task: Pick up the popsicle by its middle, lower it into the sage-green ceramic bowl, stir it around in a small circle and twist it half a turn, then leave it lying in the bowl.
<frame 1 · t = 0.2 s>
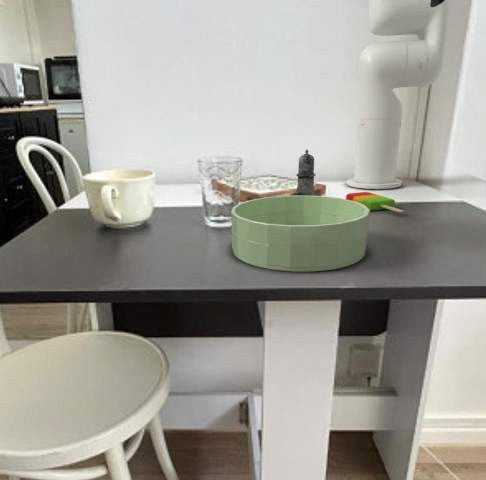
hand: (476, 2, 56), 31 cm above the table, tool pointing down, fingers open, 9 cm apart
popsicle: (376, 209, 86), on the table
bowl: (297, 248, 64), on the table
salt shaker: (304, 214, 84), on the table
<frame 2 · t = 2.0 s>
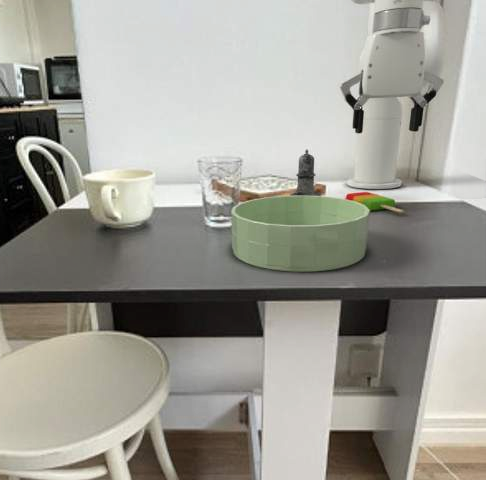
hand: (385, 132, 80), 14 cm above the table, tool pointing down, fingers open, 9 cm apart
nothing on the table moved.
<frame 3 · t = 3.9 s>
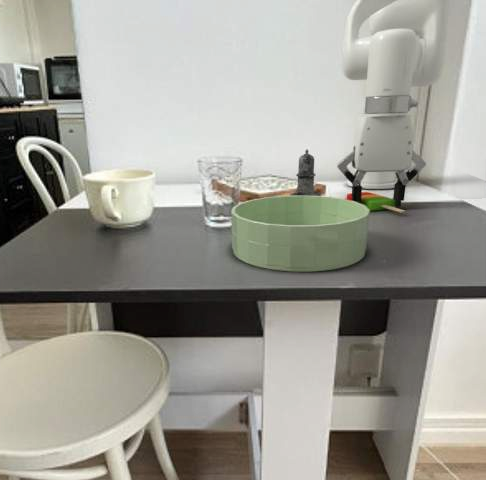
hand: (376, 204, 85), 1 cm above the table, tool pointing down, fingers closed on popsicle, 6 cm apart
popsicle: (377, 209, 86), on the table, touching gripper
everything else where it was.
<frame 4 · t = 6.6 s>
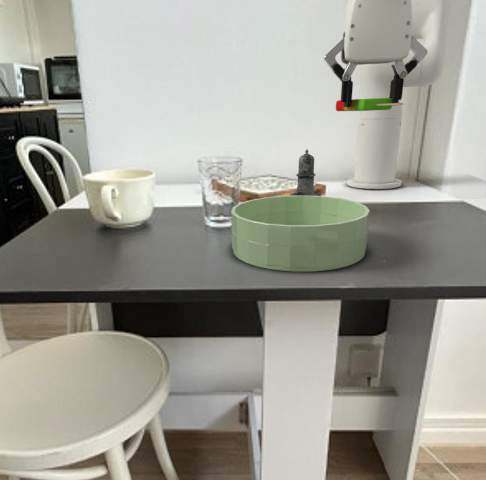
hand: (370, 105, 73), 19 cm above the table, tool pointing down, fingers closed on popsicle, 6 cm apart
popsicle: (370, 111, 74), point 18 cm above the table, touching gripper
everything else where it was.
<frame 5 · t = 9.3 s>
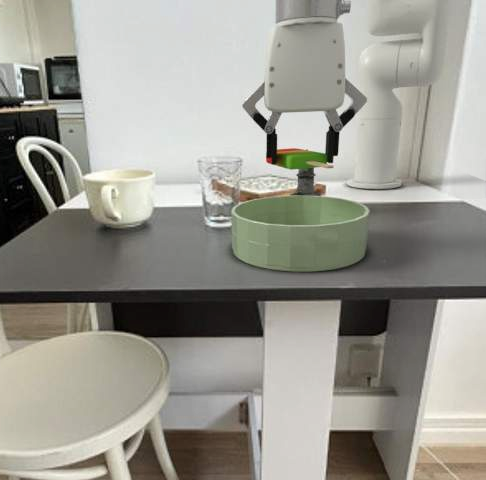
hand: (301, 161, 60), 12 cm above the table, tool pointing down, fingers closed on popsicle, 6 cm apart
popsicle: (302, 168, 61), point 12 cm above the table, touching gripper
everything else where it was.
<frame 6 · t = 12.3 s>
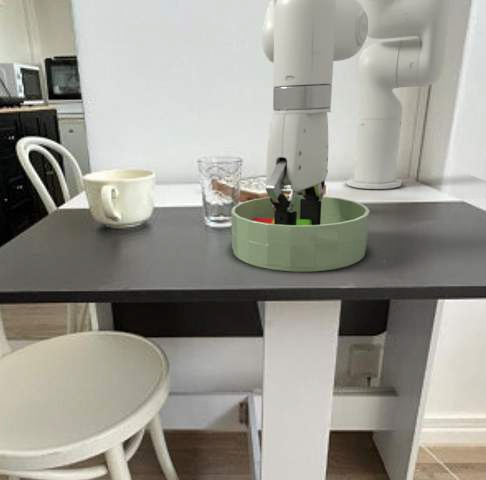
hand: (297, 230, 64), 2 cm above the table, tool pointing down, fingers closed on popsicle, 6 cm apart
popsicle: (297, 236, 65), point 2 cm above the table, touching gripper
everything else where it was.
when the fingers open (1 cm above the table, at t = 14.5 s): popsicle stays where it is, resting on bowl.
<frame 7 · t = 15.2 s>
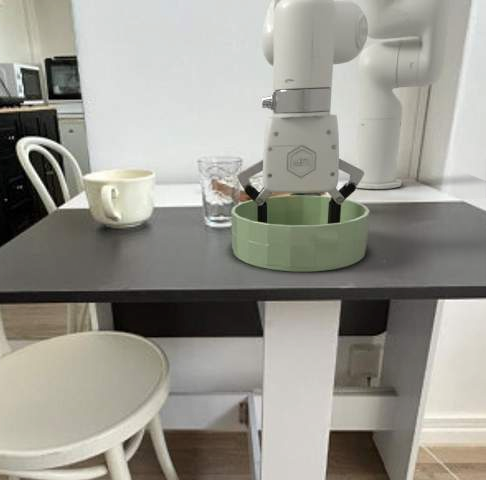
hand: (297, 229, 64), 3 cm above the table, tool pointing down, fingers open, 9 cm apart
popsicle: (296, 244, 65), resting on bowl
everything else where it was.
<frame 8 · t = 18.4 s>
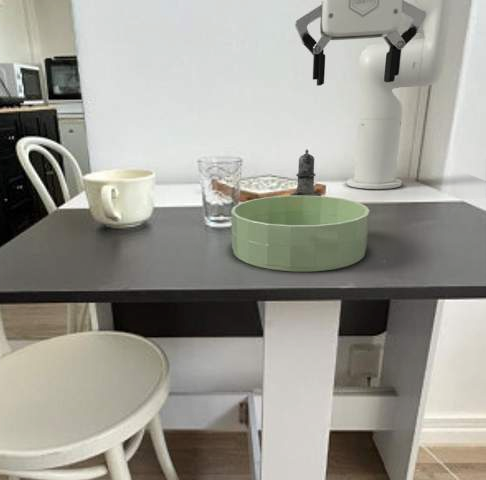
hand: (354, 83, 63), 22 cm above the table, tool pointing down, fingers open, 9 cm apart
nothing on the table moved.
at the end: popsicle inside the target area in the bowl (0.7 cm from its centre), point 0.4 cm above the bowl's base; the gripper is holding nothing; popsicle moved 30.1 cm from its start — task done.
